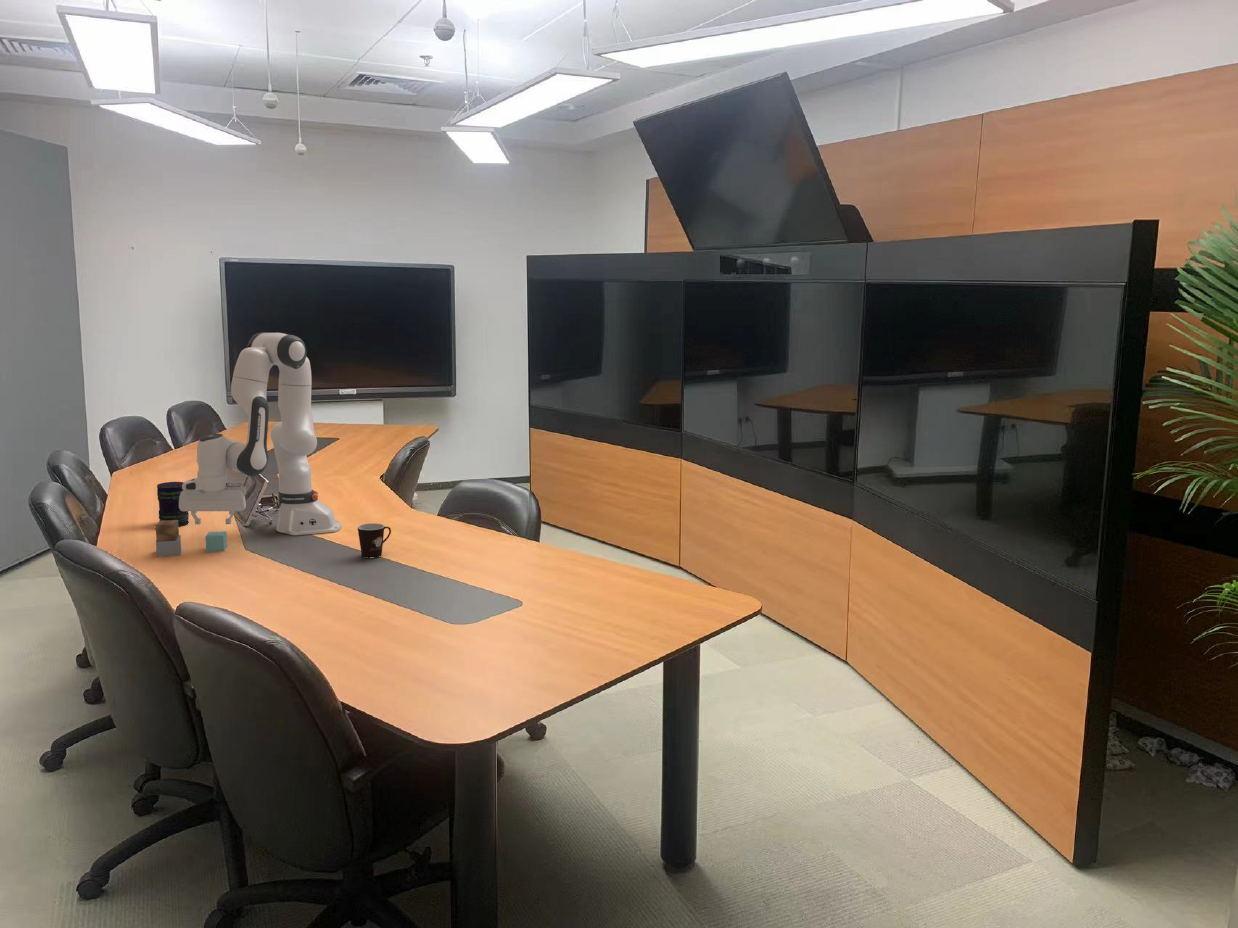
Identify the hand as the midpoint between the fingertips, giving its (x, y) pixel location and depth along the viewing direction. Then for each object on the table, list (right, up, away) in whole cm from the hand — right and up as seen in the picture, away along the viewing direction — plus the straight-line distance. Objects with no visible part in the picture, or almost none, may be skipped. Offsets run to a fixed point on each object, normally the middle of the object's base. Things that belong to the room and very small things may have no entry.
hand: (213, 523), depth 299 cm
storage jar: (-28, -2, +31) cm, 42 cm away
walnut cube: (-13, -5, -4) cm, 14 cm away
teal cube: (0, -9, +2) cm, 9 cm away
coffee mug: (+54, -11, +1) cm, 55 cm away
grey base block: (-13, -10, -3) cm, 16 cm away
